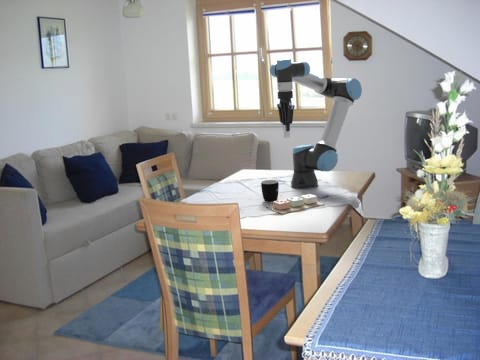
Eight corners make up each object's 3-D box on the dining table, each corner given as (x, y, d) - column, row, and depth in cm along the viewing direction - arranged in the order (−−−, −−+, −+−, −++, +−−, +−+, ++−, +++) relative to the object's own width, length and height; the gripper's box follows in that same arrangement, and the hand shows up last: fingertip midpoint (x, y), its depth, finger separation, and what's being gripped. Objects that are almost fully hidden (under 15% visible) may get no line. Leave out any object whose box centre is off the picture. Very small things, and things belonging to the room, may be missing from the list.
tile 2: (297, 202, 282) (296, 196, 282) (303, 204, 277) (303, 198, 276) (287, 204, 280) (286, 198, 279) (293, 207, 274) (293, 200, 274)
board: (308, 199, 290) (308, 198, 290) (324, 204, 278) (324, 203, 278) (266, 207, 279) (266, 206, 279) (281, 214, 267) (281, 213, 267)
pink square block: (283, 205, 279) (283, 199, 278) (290, 207, 274) (290, 201, 273) (273, 207, 276) (273, 201, 275) (279, 210, 271) (279, 203, 270)
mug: (279, 202, 287) (278, 183, 285) (262, 203, 287) (261, 184, 285) (278, 196, 299) (277, 178, 296) (261, 197, 299) (260, 178, 297)
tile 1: (310, 199, 286) (310, 193, 285) (317, 202, 281) (316, 195, 280) (300, 201, 283) (300, 195, 283) (307, 204, 278) (307, 197, 277)
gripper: (271, 90, 284) (273, 136, 290) (285, 91, 273) (287, 139, 279) (284, 89, 288) (286, 135, 293) (298, 90, 277) (300, 137, 282)
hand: (286, 137), depth 286 cm, fingers closed
